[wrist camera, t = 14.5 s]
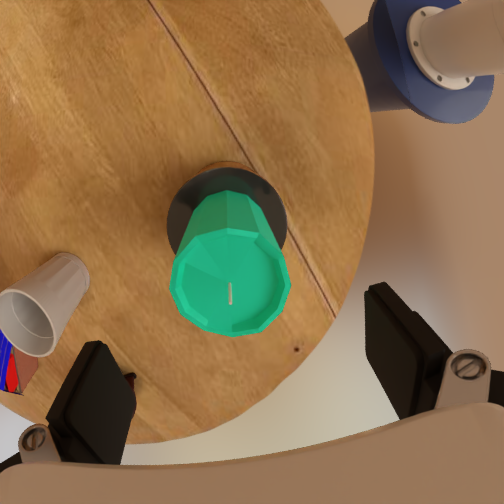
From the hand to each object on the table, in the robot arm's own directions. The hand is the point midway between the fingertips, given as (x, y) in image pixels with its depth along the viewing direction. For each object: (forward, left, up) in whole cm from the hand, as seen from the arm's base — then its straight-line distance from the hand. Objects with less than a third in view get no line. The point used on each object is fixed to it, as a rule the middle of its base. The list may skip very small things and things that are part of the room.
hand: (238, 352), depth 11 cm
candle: (0, 0, -16) cm, 16 cm away
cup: (+22, +4, -26) cm, 35 cm away
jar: (0, 0, -26) cm, 26 cm away
